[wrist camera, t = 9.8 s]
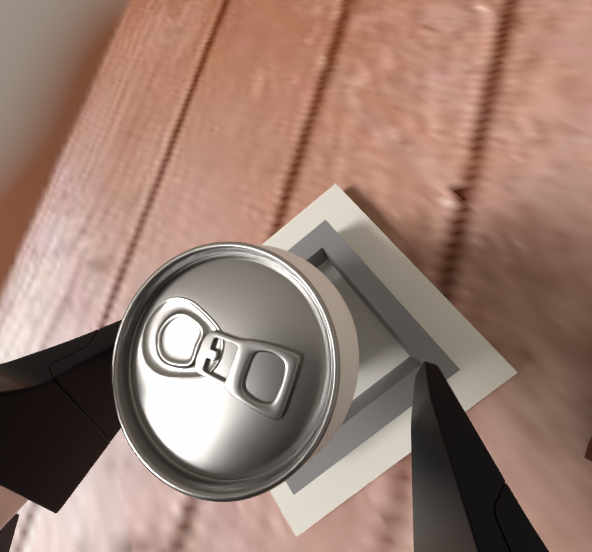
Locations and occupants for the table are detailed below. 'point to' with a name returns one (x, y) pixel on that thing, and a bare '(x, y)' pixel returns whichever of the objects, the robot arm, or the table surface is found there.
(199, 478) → the can
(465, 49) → the table surface
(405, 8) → the table surface
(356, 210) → the socket board
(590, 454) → the food container
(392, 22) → the table surface
